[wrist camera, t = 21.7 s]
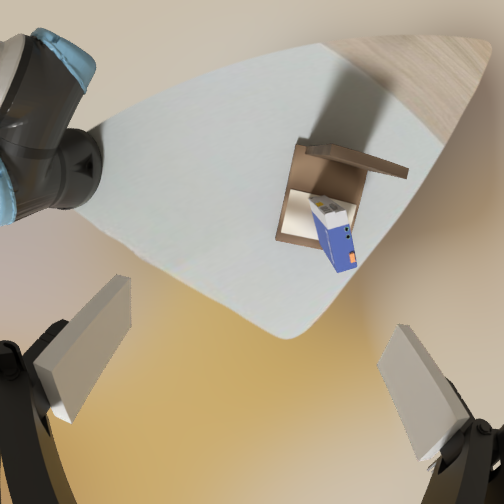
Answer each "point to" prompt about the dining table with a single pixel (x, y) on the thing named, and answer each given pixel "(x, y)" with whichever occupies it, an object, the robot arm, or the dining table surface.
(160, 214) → the dining table surface
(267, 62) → the dining table surface
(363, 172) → the book end
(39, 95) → the robot arm
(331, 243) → the walkman
